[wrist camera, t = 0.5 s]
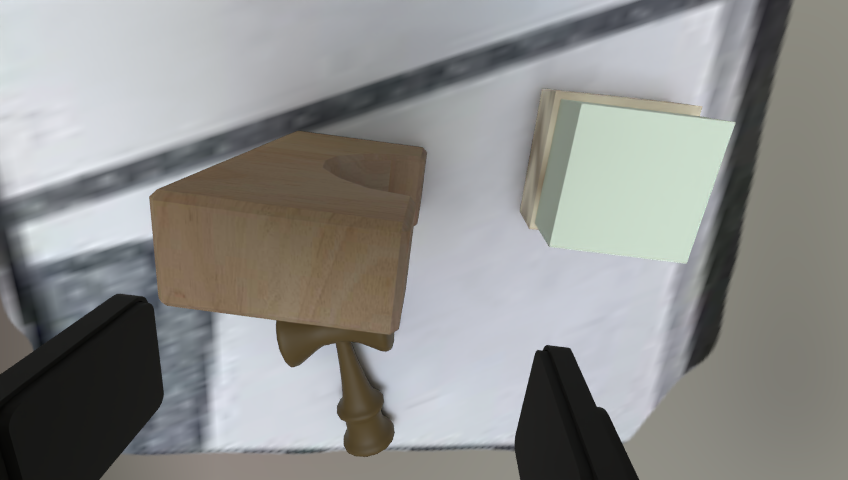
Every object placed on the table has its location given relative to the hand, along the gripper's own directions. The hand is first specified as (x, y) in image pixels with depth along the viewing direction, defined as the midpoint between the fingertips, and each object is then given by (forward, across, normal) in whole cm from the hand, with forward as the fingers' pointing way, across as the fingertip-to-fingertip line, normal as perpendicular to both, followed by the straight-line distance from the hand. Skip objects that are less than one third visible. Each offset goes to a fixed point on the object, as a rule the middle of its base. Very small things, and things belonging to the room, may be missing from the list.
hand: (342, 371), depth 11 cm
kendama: (+29, +4, +19) cm, 35 cm away
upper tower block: (+24, -14, -1) cm, 28 cm away
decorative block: (+28, +4, +2) cm, 29 cm away
